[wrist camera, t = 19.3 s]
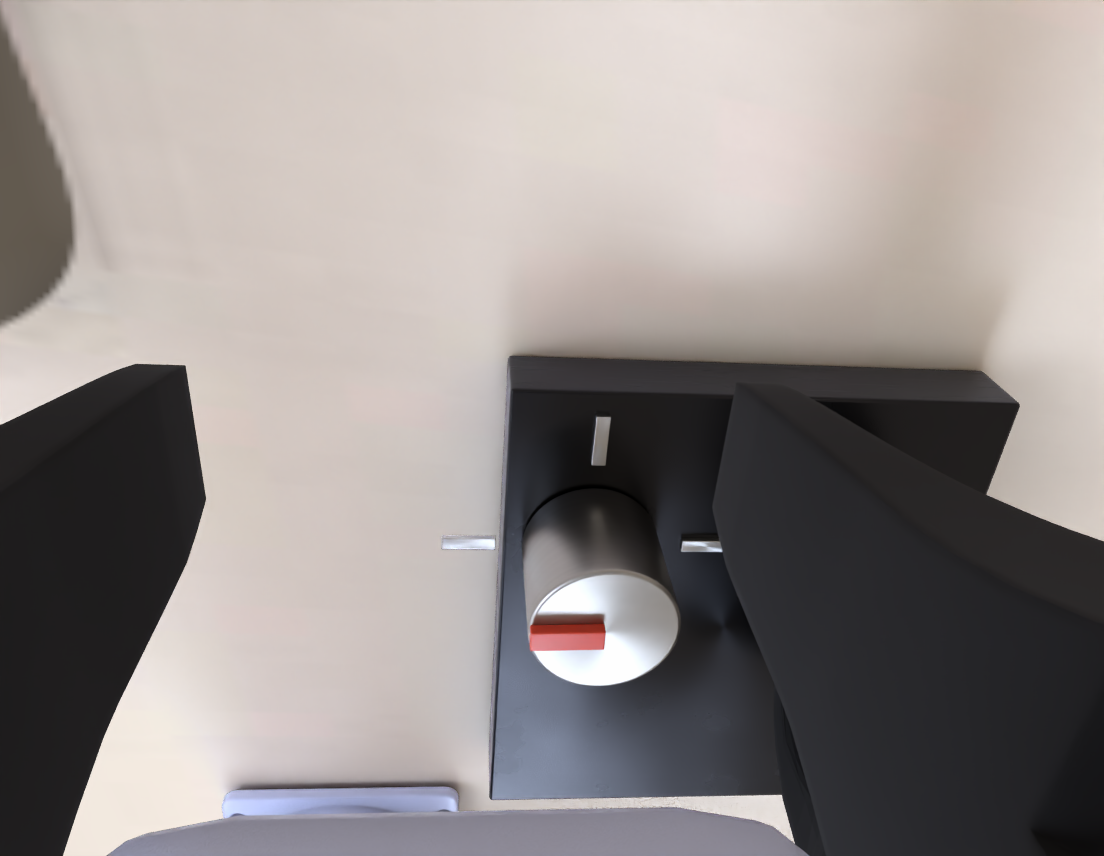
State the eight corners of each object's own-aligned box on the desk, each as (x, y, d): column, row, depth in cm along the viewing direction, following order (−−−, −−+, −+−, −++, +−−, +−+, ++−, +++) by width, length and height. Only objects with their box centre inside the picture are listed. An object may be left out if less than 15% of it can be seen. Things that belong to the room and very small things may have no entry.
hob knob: (662, 486, 22) (694, 579, 19) (648, 594, 24) (674, 695, 21) (523, 486, 22) (531, 581, 19) (519, 595, 24) (525, 699, 21)
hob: (851, 746, 31) (875, 798, 29) (441, 751, 30) (439, 806, 28) (982, 369, 24) (1025, 406, 22) (445, 352, 22) (442, 390, 20)
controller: (967, 452, 22) (1272, 777, 14) (837, 771, 28) (992, 1135, 20) (809, 442, 22) (1024, 772, 13) (710, 768, 28) (813, 1142, 19)
